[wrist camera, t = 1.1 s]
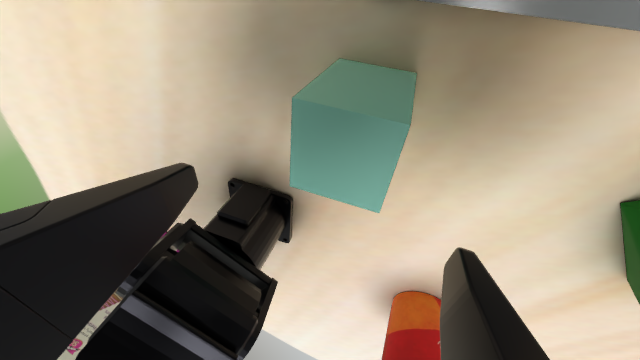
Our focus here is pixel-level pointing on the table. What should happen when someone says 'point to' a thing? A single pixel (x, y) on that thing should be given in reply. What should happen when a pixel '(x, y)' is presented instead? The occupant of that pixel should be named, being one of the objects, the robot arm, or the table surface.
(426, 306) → the paper cup
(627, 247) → the milk carton
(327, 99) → the block
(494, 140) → the table surface
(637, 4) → the board
